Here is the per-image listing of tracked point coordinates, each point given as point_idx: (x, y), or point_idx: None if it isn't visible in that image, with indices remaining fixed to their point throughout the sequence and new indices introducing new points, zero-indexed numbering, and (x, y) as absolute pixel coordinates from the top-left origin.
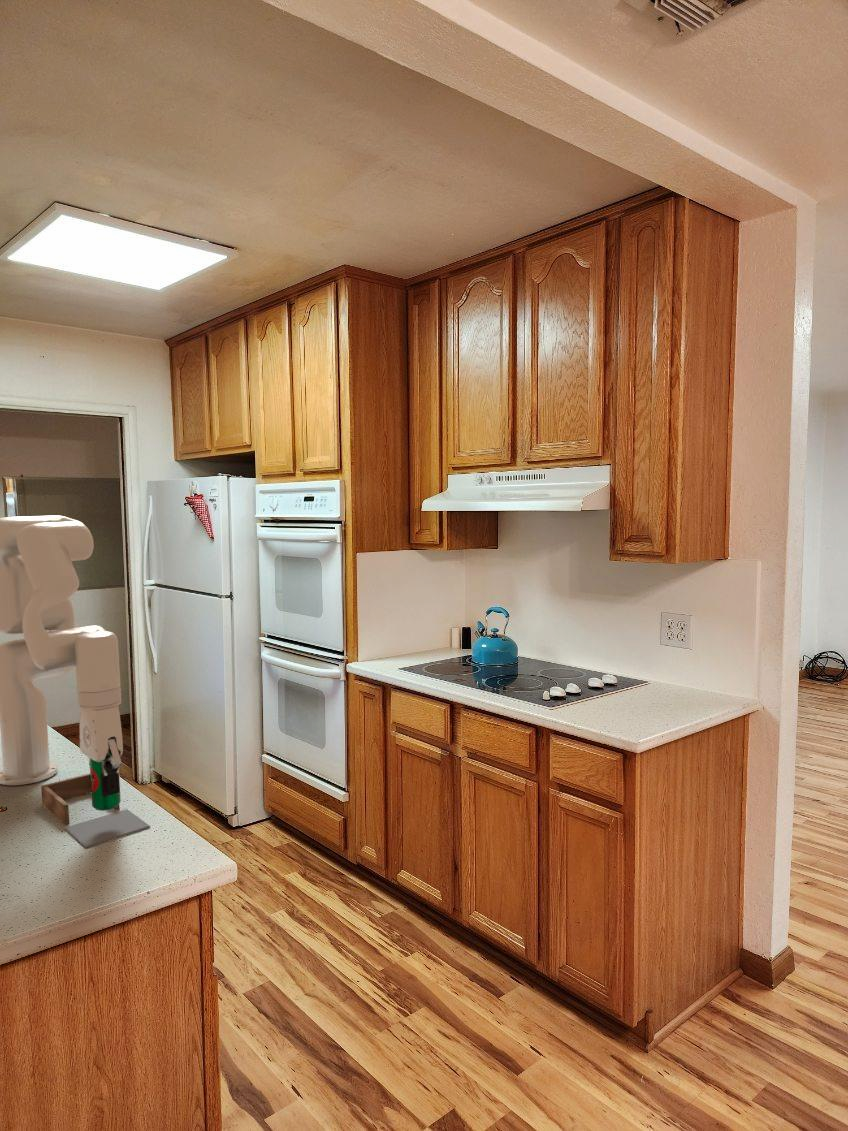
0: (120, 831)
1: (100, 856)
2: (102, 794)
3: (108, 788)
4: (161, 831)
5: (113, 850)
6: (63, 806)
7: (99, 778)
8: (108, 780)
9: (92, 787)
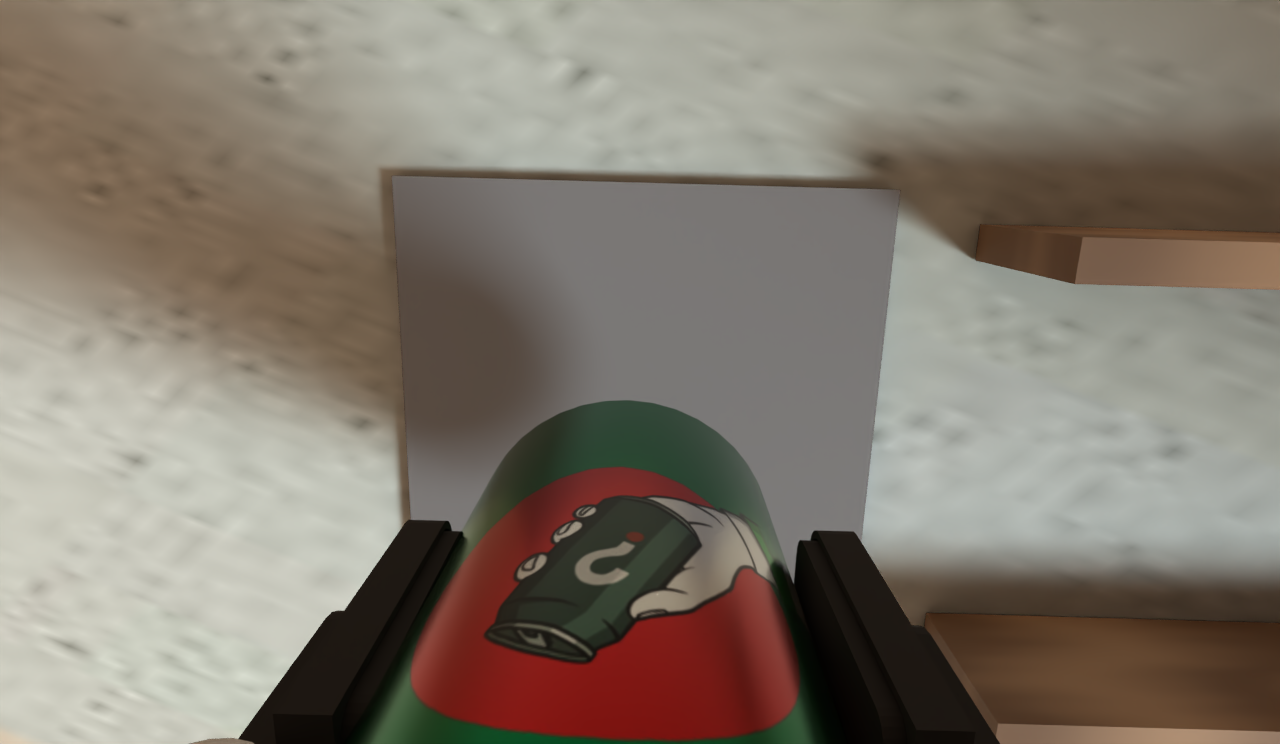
0: (469, 476)
1: (175, 205)
2: (406, 526)
3: (322, 636)
4: None
5: (217, 317)
6: (1092, 236)
7: (401, 663)
8: (255, 736)
9: (592, 497)
